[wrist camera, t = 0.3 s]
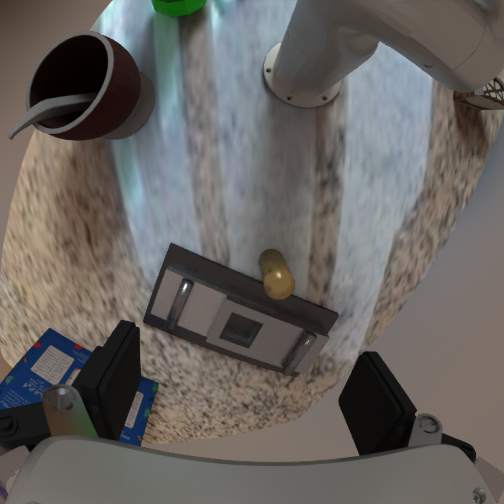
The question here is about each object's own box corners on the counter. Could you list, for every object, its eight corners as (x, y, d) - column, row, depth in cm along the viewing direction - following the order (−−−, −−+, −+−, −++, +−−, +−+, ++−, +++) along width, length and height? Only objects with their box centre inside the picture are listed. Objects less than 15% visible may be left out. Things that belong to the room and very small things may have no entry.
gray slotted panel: (171, 242, 44) (162, 254, 39) (337, 312, 50) (348, 330, 44) (144, 319, 48) (134, 336, 43) (295, 374, 54) (300, 393, 48)
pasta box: (49, 351, 51) (-8, 428, 24) (49, 327, 49) (-18, 406, 22) (150, 402, 55) (123, 502, 29) (158, 383, 53) (128, 492, 27)
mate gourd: (127, 52, 34) (70, 1, 15) (177, 99, 37) (132, 54, 18) (67, 118, 37) (-11, 106, 18) (110, 168, 40) (33, 177, 21)
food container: (480, 86, 36) (510, 81, 27) (484, 111, 38) (515, 109, 29) (444, 72, 36) (475, 62, 27) (448, 100, 38) (481, 93, 28)
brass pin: (265, 245, 45) (273, 266, 36) (287, 254, 46) (300, 278, 36) (255, 266, 46) (259, 292, 37) (276, 275, 47) (285, 303, 37)
